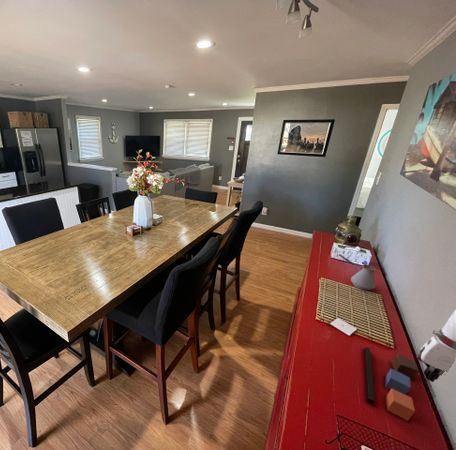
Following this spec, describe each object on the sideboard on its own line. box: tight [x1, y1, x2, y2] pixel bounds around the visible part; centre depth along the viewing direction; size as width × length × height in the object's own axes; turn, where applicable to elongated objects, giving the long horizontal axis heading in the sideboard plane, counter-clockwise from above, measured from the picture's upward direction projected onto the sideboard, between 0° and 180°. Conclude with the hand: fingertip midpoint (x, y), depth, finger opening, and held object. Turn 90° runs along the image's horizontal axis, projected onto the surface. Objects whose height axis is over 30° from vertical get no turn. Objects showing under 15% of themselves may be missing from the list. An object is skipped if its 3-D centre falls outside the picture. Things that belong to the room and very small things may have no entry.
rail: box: [363, 346, 375, 406], centre depth 89 cm, size 2×26×2 cm, turn 143°
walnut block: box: [390, 353, 420, 381], centre depth 90 cm, size 5×5×5 cm
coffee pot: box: [337, 253, 378, 291], centre depth 142 cm, size 21×12×15 cm, turn 42°
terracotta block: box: [385, 388, 416, 422], centre depth 78 cm, size 5×5×5 cm
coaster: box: [329, 317, 358, 336], centre depth 111 cm, size 8×8×1 cm
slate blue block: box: [384, 368, 411, 395], centre depth 85 cm, size 5×5×5 cm
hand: (428, 377), depth 87 cm, fingers closed
